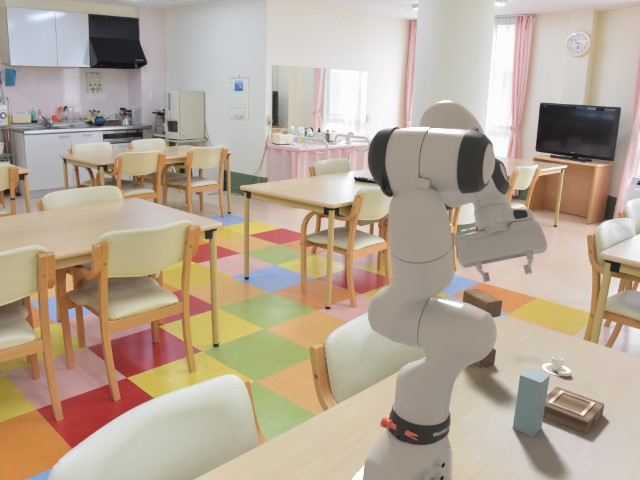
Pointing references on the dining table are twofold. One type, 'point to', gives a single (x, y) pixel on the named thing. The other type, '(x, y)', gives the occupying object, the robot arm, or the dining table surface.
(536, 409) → the column
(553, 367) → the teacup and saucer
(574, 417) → the plinth
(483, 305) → the decorative block
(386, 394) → the dining table surface
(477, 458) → the dining table surface
